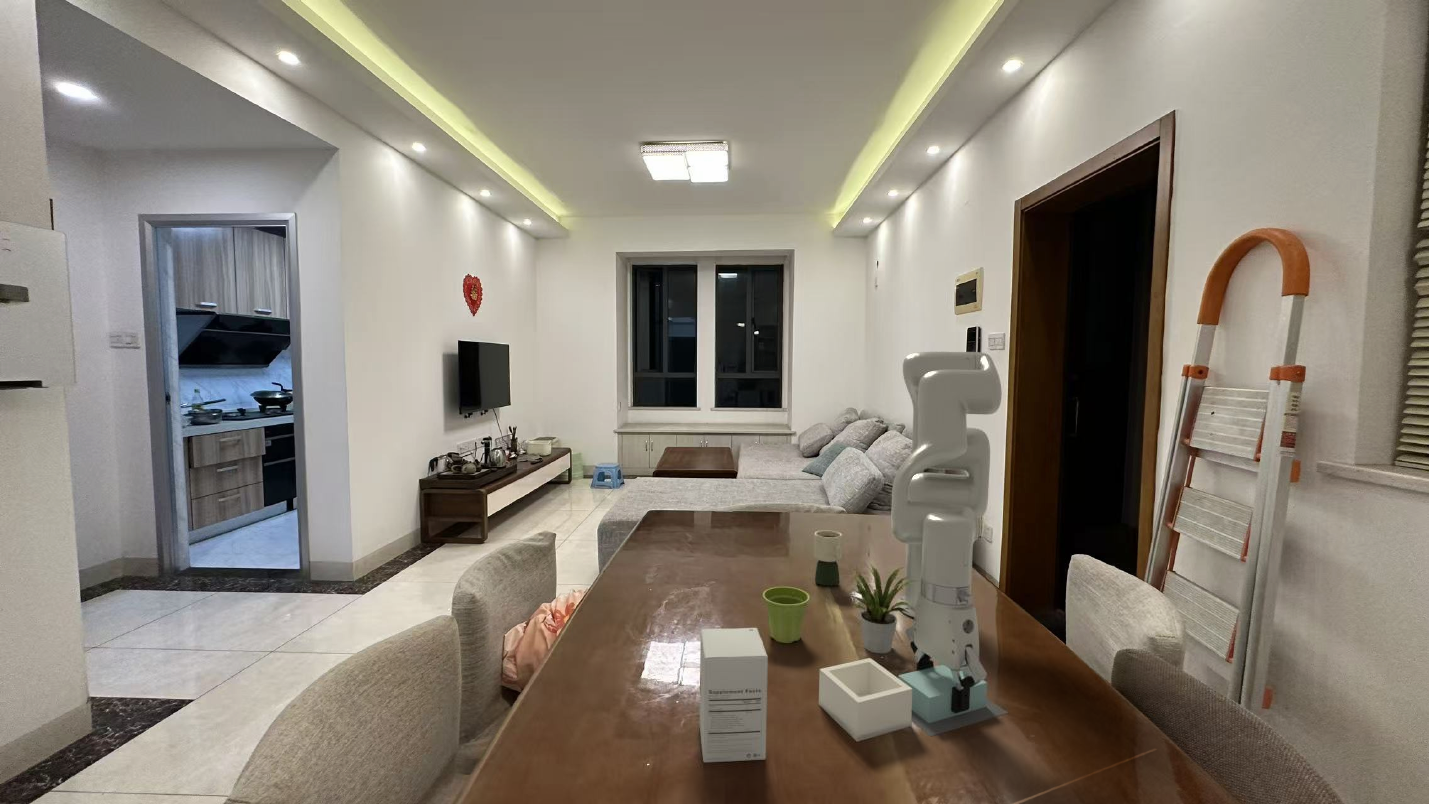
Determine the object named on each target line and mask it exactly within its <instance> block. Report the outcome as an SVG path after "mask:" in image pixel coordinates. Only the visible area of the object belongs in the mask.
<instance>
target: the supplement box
mask: <svg viewBox="0 0 1429 804" xmlns="http://www.w3.org/2000/svg"><path fill="white" fill-rule="evenodd" d="M699 649H700V650H699V651H700V658H699V661H700V662H699V665H700V666H699V670H700V671H699V672H700V673H699V732H700V743H701V752H702V759H703V760H702V761H703V763H719V762H721V763H723V762H739V761H742V762H744V761H759V760H760V761H761V760H762V761H763V760H766V759H767V757H766V755H767V712H768V711H767V709H768V669H769V668H768V667H769V664H768V662H769V660H768V654H767V652H766V648H765V646H764V643H763V639H762V637H761V635H760V632H759V629H758V627H746V628H745V627H743V628H703V629H701V630H700V648H699Z"/></svg>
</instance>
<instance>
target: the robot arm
mask: <svg viewBox="0 0 1429 804" xmlns="http://www.w3.org/2000/svg"><path fill="white" fill-rule="evenodd" d="M902 362H903V363H902V374H903V381H904V384H905V385H906V389H907V392H908V394H909V396H910V400H911V403H912V408H913V409H912V410H913V413H912V418H913V419H912V441H911V444H912V445H911V447H912V448H911V449H912V453H911V454H910V455H908V456H907V457H906V459H904V461H903V462H902V464H901V465H900V466H899V467H898V470H897V472H896V473H895V475H894V479H893V481H892V489H891V511H890V513H891V514H890V522H891V523H890V525H891V526H890V527H891V531H892V534H893V536H894V537H895V539H896V540H897V541H899V542H900V543H904V544H905V546H906V547H905V567H904V568H905V569H904V570H905V572H904V578H906V579H904V583H906V582H908V581H913V580H917V581H921V582H912V583H910V584H907V585H906V586H904V595H902V596H900V597H899V598H897V602H896V603H899V602H906V603H908V604H909V606H910V607H909V606H906V605H899V606H897V608H898V607H900V608H903V609H905V610H906V611H907V612H908V613H907V612H905V611H901V612H902V613H903V614H905V615H907V616H910V617H913V618H914V621H913V625H912V626H911V627H909V628H906V629H905V634H906V636H907V638H908V641H909V642H910V647H911V650H912V651H913V654H914V655H913V660H914V662H915V663H916V668H915V669H916V670H915V671H919V670H924V669H928V668H932V667H935V666H934V661H933V660H932V659H934V660H935V661H936V662H938V663H940V665H945V666H946V667H948V668H950V669H951V673H952V676H953V680H954V683H955V687H952V706H951V710H952V712H954V713H959V712H963V711H966V710H968V709H969V704H970V688H971V687H974V685H976V684H978V683H979V682H980V681H981V680H984V679H986V678H987V676H988V674H987V673H988V672H987V670H986V669H985V668H984V666H983V665H982V663H981V662H980V637H979V636H980V634H979V626H978V625H979V624H978V618H977V612H976V611H977V610H976V608H975V605H973V603H974V602H975V596H974V595H973V594H972V574H973V572H972V570H973V569H972V567H973V551H974V550H973V547H974V546H973V545H974V544H975V541H977V540H978V538H979V532H980V525H979V524H980V523H979V522H980V521H979V519H980V518H982V517H983V516H984V515H985V514H986V511H987V508H988V502H989V488H990V487H989V486H990V485H989V483H990V470H991V469H990V468H991V467H990V466H991V464H990V463H991V445H990V440H989V437H988V435H987V433H986V432H985V431H983V430H982V429H980V428H976V427H968V426H967V415H994V414H995V413H997V411H998V410H999V409H1000V407H1001V403H1002V393H1003V392H1002V385H1001V379H1000V376H999V372H998V370H997V368H996V365H995V362H994V360H993V358H992V357H991V356H990V355H989V354H987V353H985V352H980V351H978V352H977V351H921V352H915V353H914V352H913V353H910V354H909V355H907V356H906V357H905V358H904V359H903V361H902ZM926 469H934V470H947V471H949V470H950V471H962V472H965V473H966V474H950V473H949V474H948V473H940V472H938V473H937V472H923V471H924V470H926ZM907 577H908V578H907ZM959 671H962V672H963V675H964V679H961V676H960V673H959Z"/></svg>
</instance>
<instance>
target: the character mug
mask: <svg viewBox="0 0 1429 804" xmlns="http://www.w3.org/2000/svg"><path fill="white" fill-rule="evenodd" d="M813 534H814V535H813V538H814V539H813V542H814V543H813V558H814V559H816V560H818V561H817V562H816V569H815V575H814V576H815V577H814V581H815V584H818V585H823V586H829V587H831V586H833V585H834V586H837V585H840V583H841V582H840V571H839V570H840V569H839V564H838V562H839V561H840V560H841V559H842V558H843V553H842V549H843V534H842V533H841V532H839V531H835V530H818V531H815V532H814V533H813Z"/></svg>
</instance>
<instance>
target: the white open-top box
mask: <svg viewBox="0 0 1429 804" xmlns="http://www.w3.org/2000/svg"><path fill="white" fill-rule="evenodd" d="M818 678H819V683H818V685H819V686H818V705H819V707H821V709H823V710H824V711H825V712H826V713H827V714H828V715H829V716H830V717H831V718H832V719H833V720H834V721H835V722H836V723H837V724H839V726H840V727H841V728H843V729H844V730H845V732H846V733H847V734H848V735H850V736H851V738H853V739H854V741H856V742H860V741H861V742H862V741H864V740H868V739H871V738H875V737H878V736H881V735H884V734H888V733H892V732H895V731H899V730H902V729H907V728H910V727H912V721H911V714H912V688H911V687H909V686H908V685H907V684H905V683H904V682H902V681H901V680H900V679H898V676H895V675H894V674H893V673H891V672H890V671H889V670H887V669H886V668H885V667H883V666H882V665H880V664H879V663H878V662H876V661H875V660H874V659H872V658H871V657H869V658H864V659H859V660H855V661H850V662H846V663H841V664H837V665H836V664H835V665H832V666H828V667H823V668H819V677H818Z"/></svg>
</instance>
